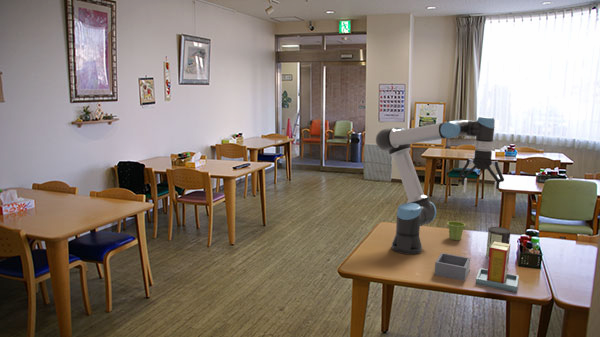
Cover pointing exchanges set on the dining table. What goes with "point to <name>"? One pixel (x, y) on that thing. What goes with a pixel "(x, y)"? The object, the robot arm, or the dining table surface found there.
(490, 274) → the baking soda box
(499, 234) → the coffee can
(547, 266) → the dining table surface
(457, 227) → the plant pot
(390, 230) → the dining table surface
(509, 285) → the tray
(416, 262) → the dining table surface
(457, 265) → the box
